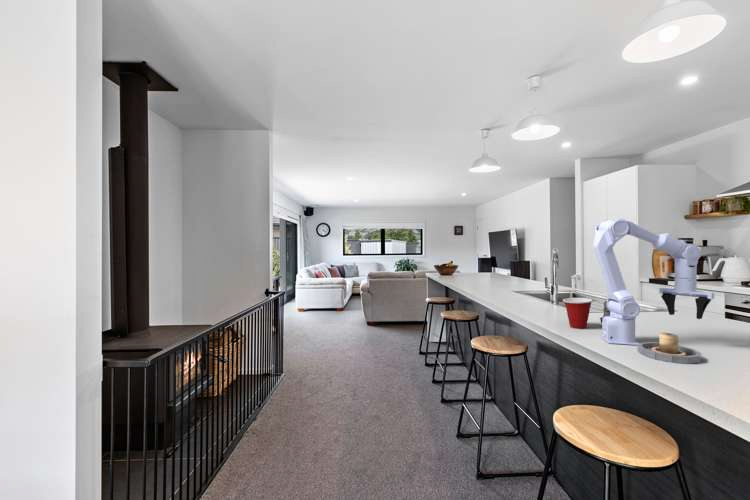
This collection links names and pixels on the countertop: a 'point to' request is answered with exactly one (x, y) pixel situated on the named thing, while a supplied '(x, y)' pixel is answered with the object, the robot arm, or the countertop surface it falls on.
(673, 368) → the countertop surface
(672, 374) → the countertop surface
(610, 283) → the robot arm
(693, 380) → the countertop surface
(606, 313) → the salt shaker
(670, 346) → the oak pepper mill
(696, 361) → the round tray
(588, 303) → the plastic cup
